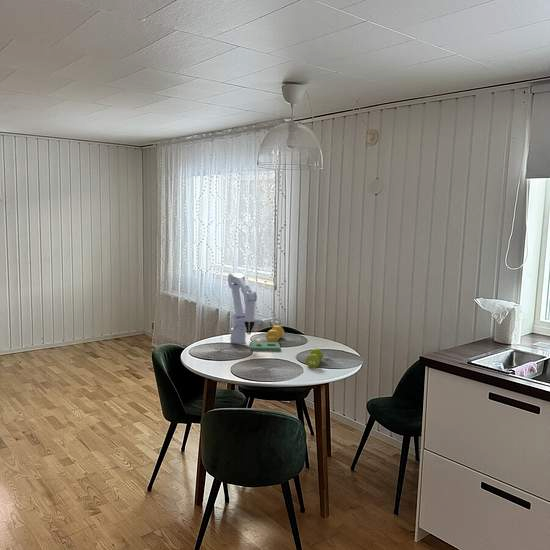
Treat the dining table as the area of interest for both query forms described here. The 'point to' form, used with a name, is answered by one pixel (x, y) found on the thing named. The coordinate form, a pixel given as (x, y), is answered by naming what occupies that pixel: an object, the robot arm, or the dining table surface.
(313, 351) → the green grapes
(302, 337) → the dining table surface
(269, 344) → the putting deck
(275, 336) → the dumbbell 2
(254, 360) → the dining table surface
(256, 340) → the ball
